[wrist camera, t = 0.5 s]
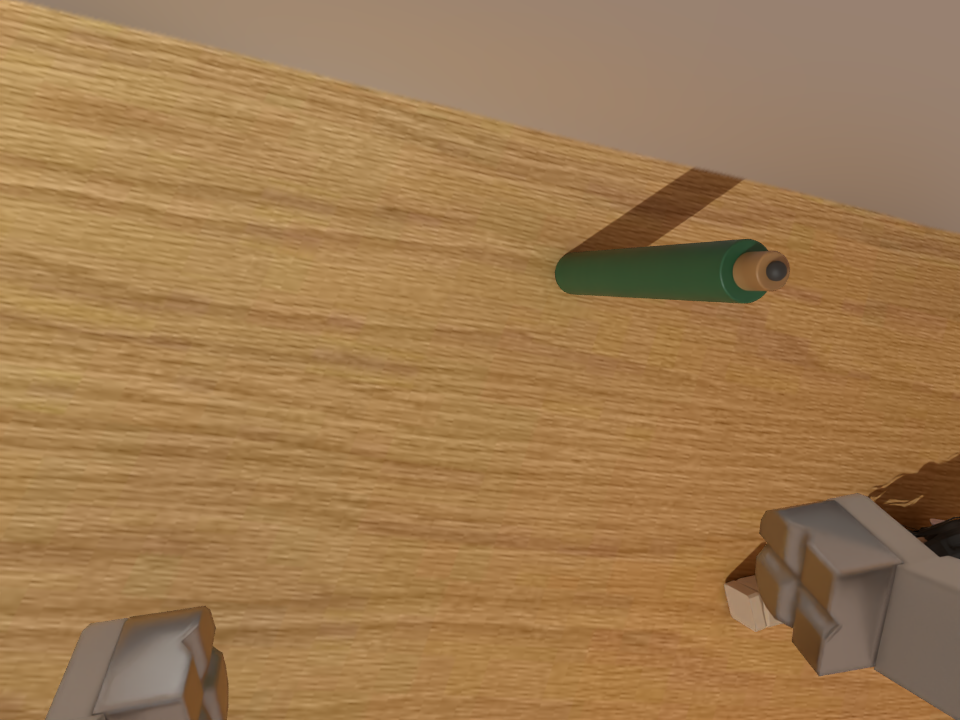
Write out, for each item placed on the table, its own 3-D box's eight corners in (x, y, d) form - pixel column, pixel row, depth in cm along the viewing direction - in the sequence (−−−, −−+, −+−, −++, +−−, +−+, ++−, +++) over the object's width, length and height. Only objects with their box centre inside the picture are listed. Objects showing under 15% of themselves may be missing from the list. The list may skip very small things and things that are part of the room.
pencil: (547, 264, 35) (744, 255, 21) (582, 245, 35) (797, 224, 21) (565, 301, 35) (768, 317, 21) (599, 282, 36) (820, 285, 22)
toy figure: (736, 681, 41) (953, 596, 44) (810, 737, 35) (1055, 634, 38) (707, 558, 41) (928, 482, 44) (778, 594, 35) (1028, 501, 38)
